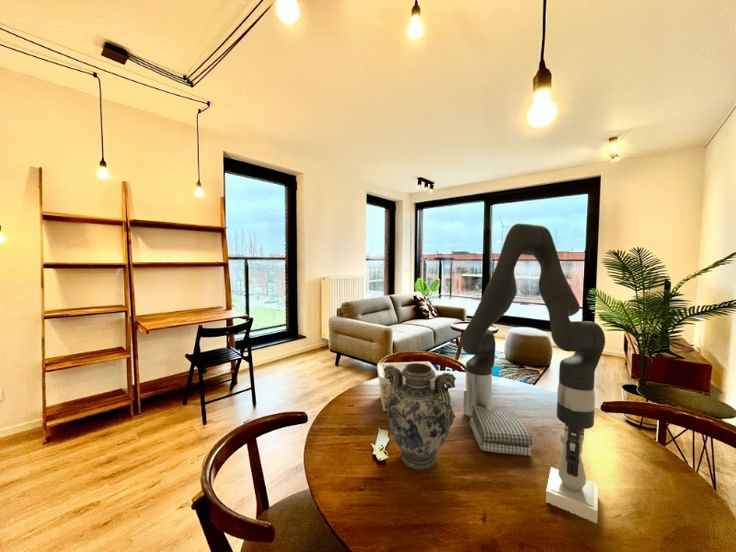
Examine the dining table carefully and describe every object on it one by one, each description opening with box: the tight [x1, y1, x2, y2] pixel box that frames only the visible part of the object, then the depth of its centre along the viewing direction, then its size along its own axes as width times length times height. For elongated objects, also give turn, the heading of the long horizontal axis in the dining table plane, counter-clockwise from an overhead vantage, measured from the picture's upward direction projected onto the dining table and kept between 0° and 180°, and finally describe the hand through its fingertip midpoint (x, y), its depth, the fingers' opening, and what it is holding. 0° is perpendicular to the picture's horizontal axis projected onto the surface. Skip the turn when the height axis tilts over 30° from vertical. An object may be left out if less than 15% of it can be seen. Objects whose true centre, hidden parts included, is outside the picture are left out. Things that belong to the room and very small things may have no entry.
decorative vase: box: [384, 363, 456, 471], centre depth 90 cm, size 21×19×28 cm
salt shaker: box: [557, 431, 587, 491], centre depth 74 cm, size 6×6×13 cm
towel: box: [468, 404, 533, 456], centre depth 99 cm, size 15×18×8 cm
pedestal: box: [545, 467, 599, 524], centre depth 75 cm, size 10×10×3 cm
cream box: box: [376, 361, 440, 412], centre depth 124 cm, size 24×16×15 cm
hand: (572, 469), depth 74 cm, fingers open, 4 cm apart
